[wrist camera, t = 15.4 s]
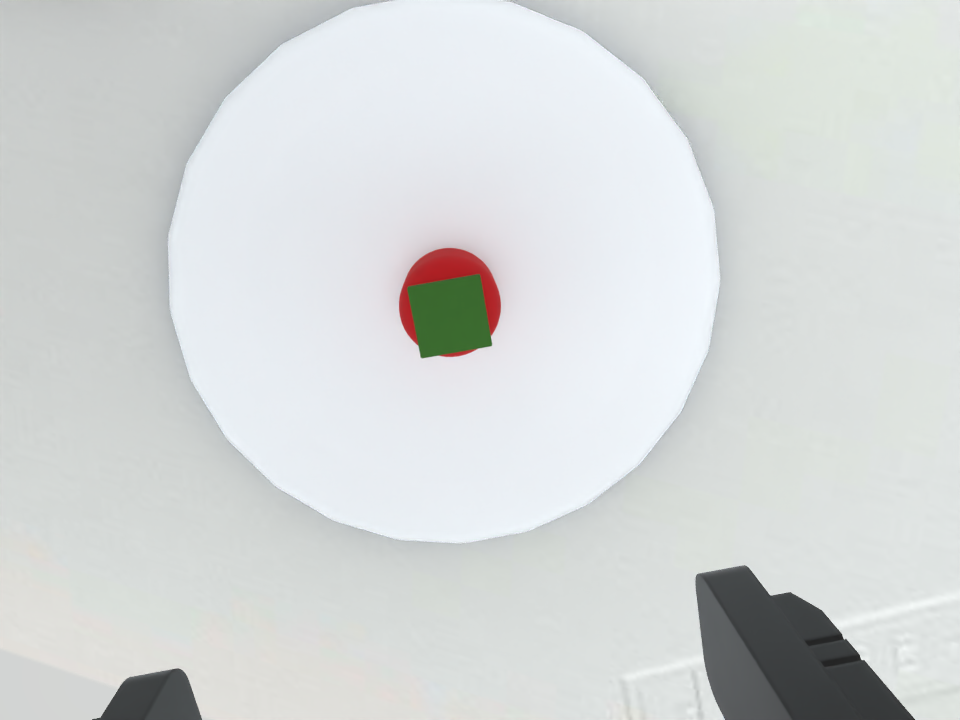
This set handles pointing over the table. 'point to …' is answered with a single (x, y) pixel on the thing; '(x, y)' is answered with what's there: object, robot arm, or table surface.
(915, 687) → the table surface
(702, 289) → the plate
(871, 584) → the table surface
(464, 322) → the strawberry
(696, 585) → the robot arm
